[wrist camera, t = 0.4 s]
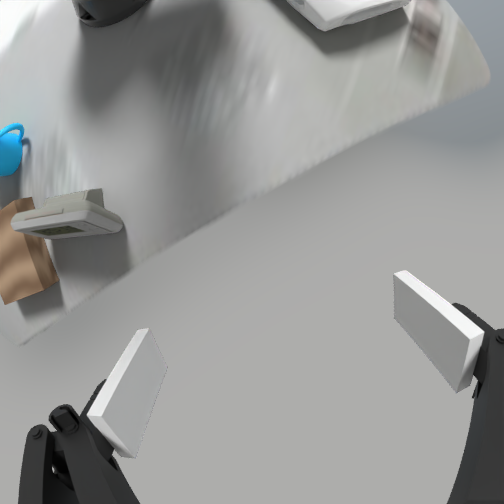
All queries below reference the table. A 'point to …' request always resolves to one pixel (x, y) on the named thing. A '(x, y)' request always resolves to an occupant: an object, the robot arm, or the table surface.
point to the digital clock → (69, 217)
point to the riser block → (22, 257)
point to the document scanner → (343, 10)
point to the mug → (10, 149)
